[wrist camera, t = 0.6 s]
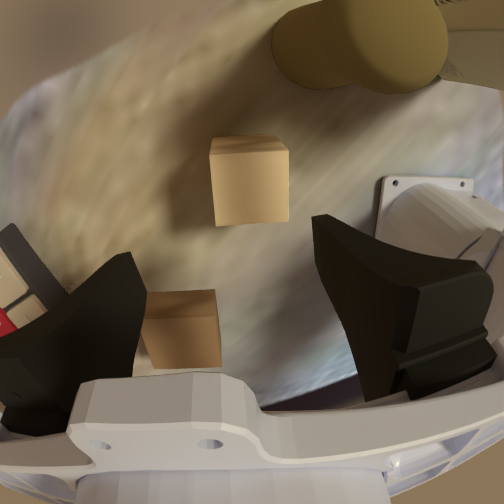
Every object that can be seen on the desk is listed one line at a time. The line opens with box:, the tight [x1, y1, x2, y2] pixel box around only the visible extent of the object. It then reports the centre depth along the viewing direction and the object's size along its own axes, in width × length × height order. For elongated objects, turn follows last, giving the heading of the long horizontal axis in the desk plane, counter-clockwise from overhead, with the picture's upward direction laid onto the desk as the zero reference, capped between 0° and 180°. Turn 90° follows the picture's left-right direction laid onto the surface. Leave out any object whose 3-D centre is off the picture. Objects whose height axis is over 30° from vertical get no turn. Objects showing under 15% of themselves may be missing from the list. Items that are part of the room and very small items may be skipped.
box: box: [433, 0, 504, 91], centre depth 11 cm, size 5×4×13 cm
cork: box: [271, 0, 449, 94], centre depth 12 cm, size 6×6×11 cm
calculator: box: [0, 223, 68, 337], centre depth 24 cm, size 11×4×15 cm
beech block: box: [209, 134, 289, 226], centre depth 19 cm, size 4×4×5 cm
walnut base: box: [141, 289, 222, 369], centre depth 26 cm, size 6×6×4 cm
